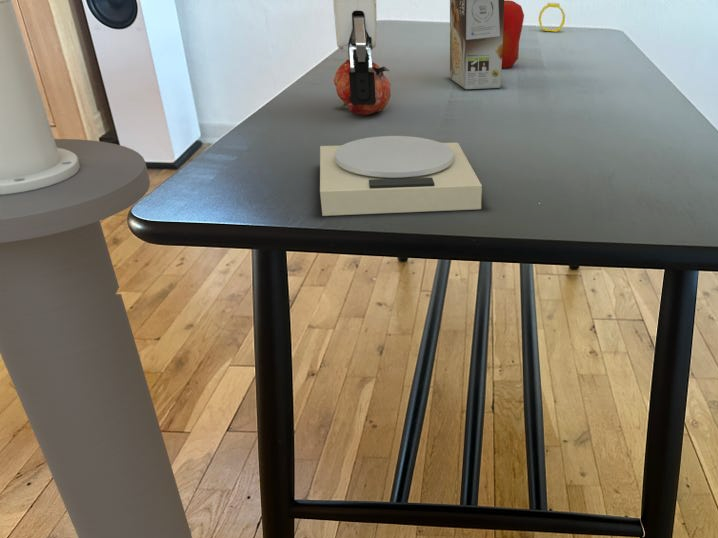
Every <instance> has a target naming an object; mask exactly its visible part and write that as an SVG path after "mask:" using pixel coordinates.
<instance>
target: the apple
mask: <svg viewBox="0 0 718 538" xmlns="http://www.w3.org/2000/svg"><path fill="white" fill-rule="evenodd" d="M524 18H525V14H524V10H523V7H522V5H520V4H519V3H517V2H516V1H513V0H504V24H503V47H502V69H509V68H512V67H513V66H514V65H515V63H516V62H517V61H518V60H519V54H520V53H519V51H520V40H521V35H522V30H523V25H524Z"/></svg>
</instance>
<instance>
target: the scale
mask: <svg viewBox="0 0 718 538" xmlns="http://www.w3.org/2000/svg"><path fill="white" fill-rule="evenodd" d="M461 147H462V146H461V145H460V143H459V142H440V141H437V140H433V139H429V138H425V137H417V136H409V135H407V136H406V135H380V136H371V137H365V138H359V139H355V140H351V141H349V142H346V143H343V144H342V145H320V146H319V195H320V206H321V213H322V216H323V217H331V216H332V217H333V216H353V215H354V216H355V215H358V216H359V215H379V214H403V213H405V214H406V213H423V212H447V211H449V212H450V211H470V210H475V211H476V210H482V199H483V198H482V194H483V185H482V183H481V181H480V180H479V178H478V176H477V174H476V173H475V171H474V169H473V167H472V165H471V163H470V162H469V160H468V158H467V156H466V154H465V152H464V151H463V149H462V148H461Z"/></svg>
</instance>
